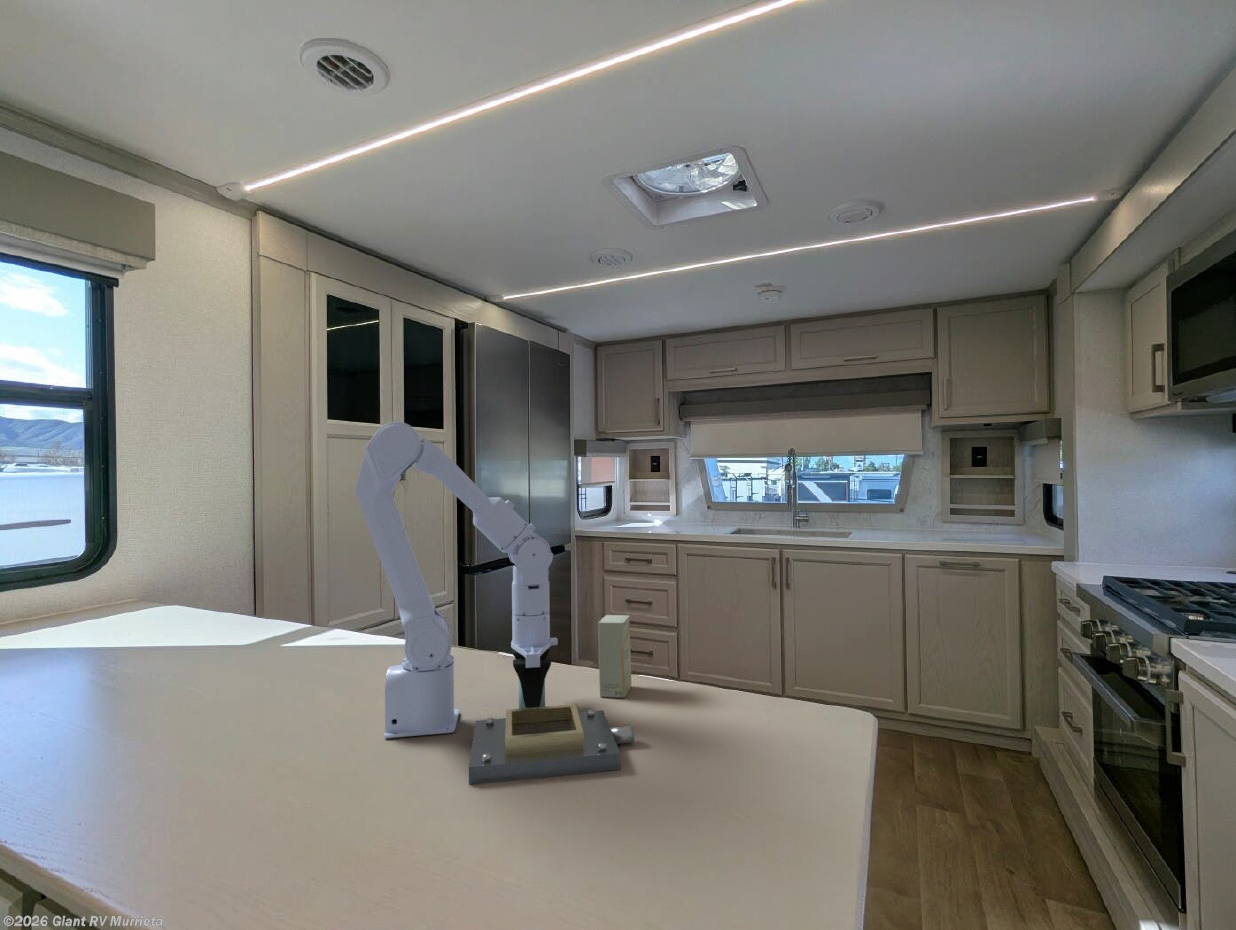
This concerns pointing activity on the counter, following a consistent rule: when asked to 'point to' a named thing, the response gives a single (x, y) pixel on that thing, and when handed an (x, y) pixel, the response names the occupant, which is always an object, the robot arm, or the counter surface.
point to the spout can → (521, 701)
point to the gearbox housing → (544, 744)
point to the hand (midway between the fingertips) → (532, 701)
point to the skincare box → (614, 656)
